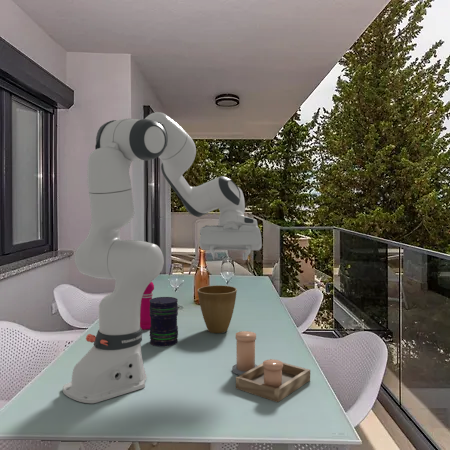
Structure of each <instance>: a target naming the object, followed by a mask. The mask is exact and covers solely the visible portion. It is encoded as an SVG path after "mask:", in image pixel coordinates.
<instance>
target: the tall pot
mask: <svg viewBox="0 0 450 450" xmlns="http://www.w3.org/2000/svg"><path fill="white" fill-rule="evenodd" d="M235 340H236V357H235V358H236V364H235V365H236V368H237V369H238V370H239V371H245V372H247V371H249V370H251V369H253V368H255V365H256V340H257V333H256V332H254V331H248V330H247V331H246V330H244V331H243V330H242V331H238V332H236V333H235Z"/></svg>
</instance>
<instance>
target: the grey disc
mask: <svg viewBox="0 0 450 450" xmlns="http://www.w3.org/2000/svg"><path fill="white" fill-rule="evenodd" d="M257 366H258V364H255V367H257ZM231 368H232V369H231V371H232V373H233V374H235V375H236V376H237V375H238V376H239V375H241V374H243V373H245V371H239V370H238V369H237V368H236V364H234V365H232V367H231Z"/></svg>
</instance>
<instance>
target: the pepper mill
mask: <svg viewBox="0 0 450 450" xmlns="http://www.w3.org/2000/svg"><path fill="white" fill-rule="evenodd" d="M154 290H155V284H154V282H153V281H152V282H150V284H149V285H148V286H147V288H146V289H145V291H144V293H143V296H142V300H141V308H140V327H141V328H142V331H144V330H150V327H151V317H150V299H153V298H154V294H153V293H154V292H153V291H154Z"/></svg>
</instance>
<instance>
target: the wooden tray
mask: <svg viewBox="0 0 450 450" xmlns="http://www.w3.org/2000/svg"><path fill="white" fill-rule="evenodd" d="M269 360H271V358H270V359H269ZM310 381H311V369H308V368H305V367H301V366H298V365H294V364H290V363H286V362H283V369H282V385H281V386H279V387H278V388H274V387H271V386H268V385H265V384H264V368H263V362H262V363H260V364H259V365H257V367H255V368H253V369H251V370H249V371H247V372H245V373H243V374H241V375H238V376H237V375H236V377H235V389H236V390H239V391H242V392H246V393H249V394H252V395H254V396H257V397H261V398H263V399H267V400H269V401H272V402H276V403H279V402H280V401H282V400H284V399H286V397H288V396H290V395H291V394H292V393H294V392H296V391H297V390H298V389H300V388H301V387H303V386H304V385H307V383H308V382H310Z"/></svg>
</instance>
